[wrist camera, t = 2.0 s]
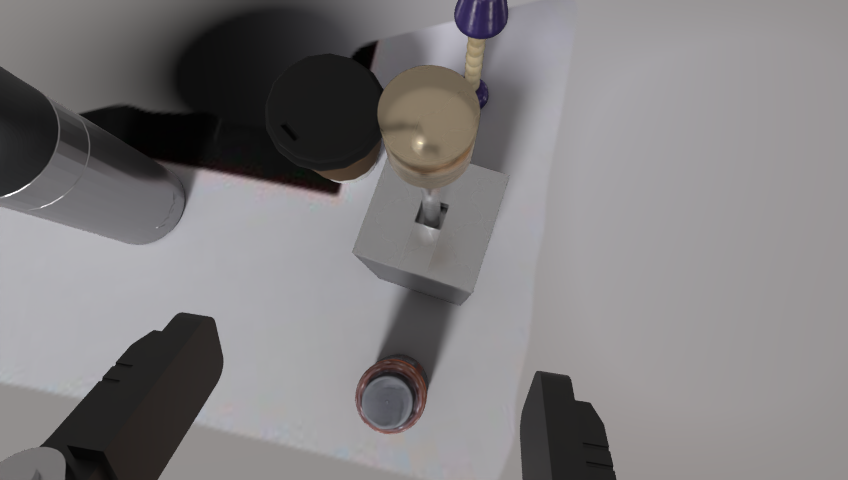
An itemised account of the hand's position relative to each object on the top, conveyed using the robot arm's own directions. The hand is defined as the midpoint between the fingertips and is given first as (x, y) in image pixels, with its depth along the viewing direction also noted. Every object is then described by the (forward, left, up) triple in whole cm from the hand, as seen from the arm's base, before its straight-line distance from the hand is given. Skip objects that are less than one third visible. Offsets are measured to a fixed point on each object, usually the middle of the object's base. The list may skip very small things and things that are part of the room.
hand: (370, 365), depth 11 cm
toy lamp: (-3, +28, -36) cm, 46 cm away
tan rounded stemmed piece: (-2, +9, -22) cm, 24 cm away
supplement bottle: (-1, -5, -36) cm, 37 cm away
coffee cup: (-14, +16, -36) cm, 42 cm away
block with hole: (-2, +9, -36) cm, 37 cm away
